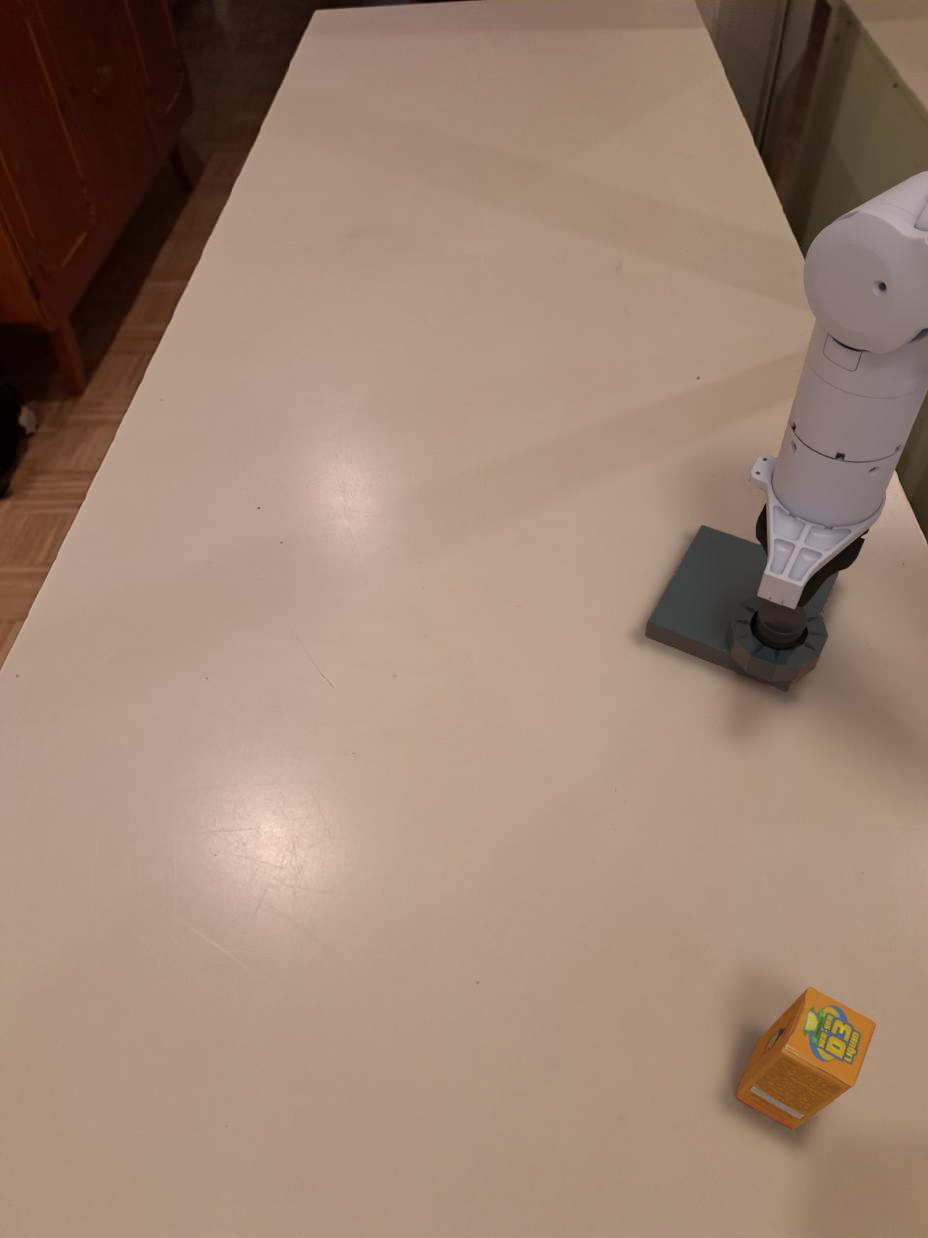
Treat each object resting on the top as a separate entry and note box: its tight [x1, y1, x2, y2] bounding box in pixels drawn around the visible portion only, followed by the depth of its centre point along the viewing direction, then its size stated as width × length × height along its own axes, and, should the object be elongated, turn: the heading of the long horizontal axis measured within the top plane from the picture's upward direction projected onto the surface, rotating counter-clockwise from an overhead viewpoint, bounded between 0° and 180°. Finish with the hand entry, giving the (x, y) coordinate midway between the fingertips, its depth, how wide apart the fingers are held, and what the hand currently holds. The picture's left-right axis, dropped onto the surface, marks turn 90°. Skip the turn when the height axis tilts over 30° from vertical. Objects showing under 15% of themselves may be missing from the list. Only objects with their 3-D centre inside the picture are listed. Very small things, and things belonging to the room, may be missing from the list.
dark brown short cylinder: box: [754, 600, 808, 650], centre depth 61 cm, size 3×3×2 cm
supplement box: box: [735, 986, 877, 1131], centre depth 44 cm, size 3×3×10 cm
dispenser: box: [645, 524, 840, 693], centre depth 65 cm, size 11×11×4 cm
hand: (789, 594), depth 58 cm, fingers closed
